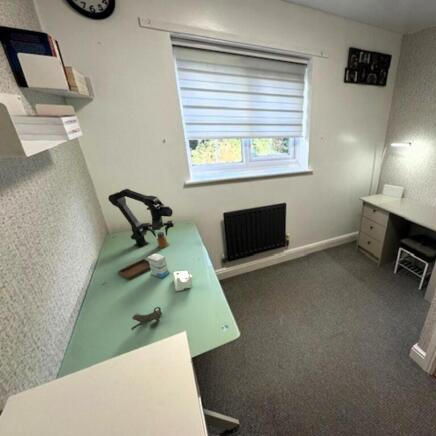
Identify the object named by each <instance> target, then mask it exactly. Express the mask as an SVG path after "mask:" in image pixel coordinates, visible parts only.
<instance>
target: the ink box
mask: <svg viewBox="0 0 436 436" xmlns="http://www.w3.org/2000/svg"><path fill="white" fill-rule="evenodd" d="M147 260H148V261H149V264H150V268H151V269H150V271H151V274H152V275H153V276H156V277H159V278H161V279H163V278H165V277H166V276H168V275H169V269H168V268H169V267H168V264H167V260H166V257H165V256H164V255H161V254H158V253H153V254H150V255H149V256H147Z"/></svg>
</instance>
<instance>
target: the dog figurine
mask: <svg viewBox="0 0 436 436" xmlns="http://www.w3.org/2000/svg"><path fill="white" fill-rule="evenodd" d="M162 315H163V312H162V309H161V307H160V306H156V307H154V308H153V311H152V312H151V313H148V314H140V313H138V312H137V313H135V314H133V316H132V317H131V319H132V320H133V321H136V322H139V323H137V324H135V325H134V326H132V327H131V328H130V329H131V331H133V330H134V329H136V328H138V327H140V326H144V325H145V324H147V323H150V322H152V321H154V320H155V321H154V322H153V323H152V324H151V325H150V326H151V327H152V328H153V327H154V326H155V325H157V324H158V323H159V322H160V318H161V316H162Z"/></svg>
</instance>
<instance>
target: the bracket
mask: <svg viewBox="0 0 436 436" xmlns="http://www.w3.org/2000/svg"><path fill="white" fill-rule="evenodd" d="M172 279H173V284H174V288H175V291H176V292H178V291H184V290H185V289H191V288H192V284H193V283H192V282H193V275H192V274H191V273H189V272H188V270H179V271H173V274H172Z"/></svg>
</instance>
